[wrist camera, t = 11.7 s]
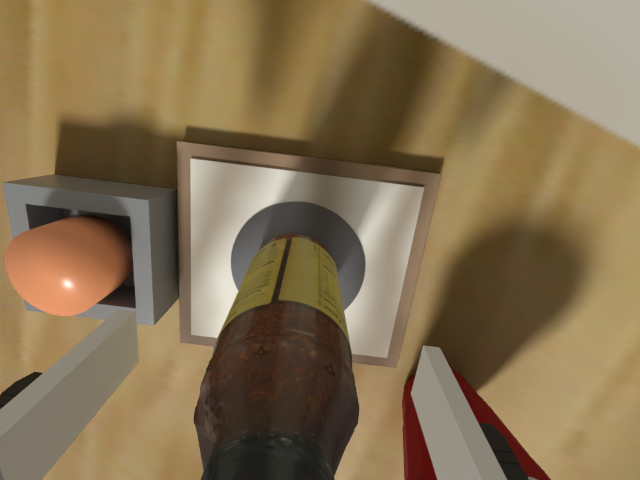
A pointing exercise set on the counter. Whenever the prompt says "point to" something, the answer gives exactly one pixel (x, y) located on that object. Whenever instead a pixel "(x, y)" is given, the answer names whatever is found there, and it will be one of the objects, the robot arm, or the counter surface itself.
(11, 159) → the counter surface
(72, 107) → the counter surface
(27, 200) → the button housing
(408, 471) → the plastic cup
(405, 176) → the board
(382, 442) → the counter surface
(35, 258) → the button
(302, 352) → the sauce bottle
